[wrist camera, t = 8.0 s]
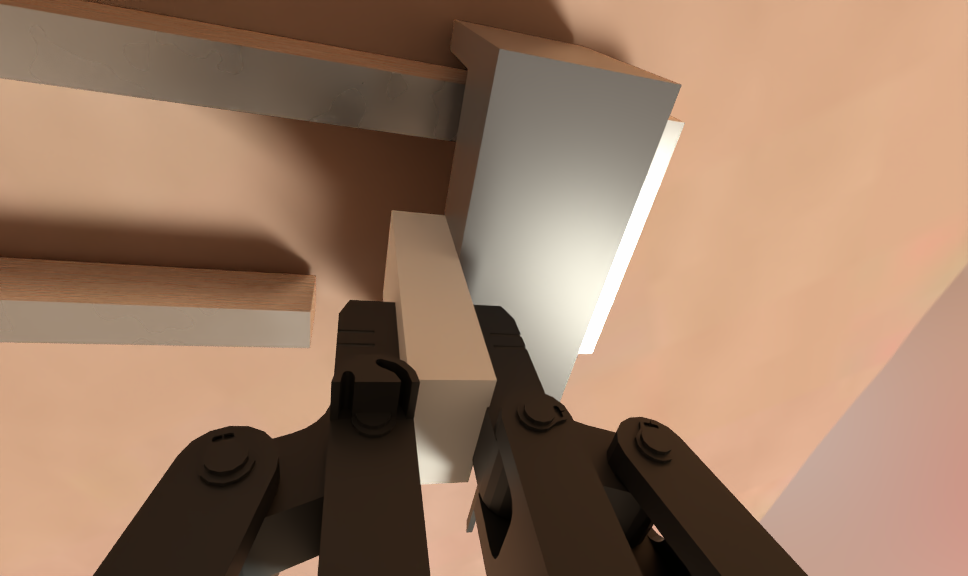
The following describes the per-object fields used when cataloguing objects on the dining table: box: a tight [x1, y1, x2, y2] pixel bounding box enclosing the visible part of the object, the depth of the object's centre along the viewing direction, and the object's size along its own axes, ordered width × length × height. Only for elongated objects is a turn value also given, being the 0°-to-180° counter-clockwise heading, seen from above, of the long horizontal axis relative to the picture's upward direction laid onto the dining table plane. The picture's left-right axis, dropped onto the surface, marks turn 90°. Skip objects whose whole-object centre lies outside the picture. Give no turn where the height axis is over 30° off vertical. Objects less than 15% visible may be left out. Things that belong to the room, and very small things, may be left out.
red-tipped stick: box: [0, 257, 316, 348], centre depth 14 cm, size 17×2×2 cm, turn 79°
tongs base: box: [0, 0, 685, 353], centre depth 14 cm, size 28×9×3 cm, turn 79°
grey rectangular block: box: [444, 19, 681, 402], centre depth 15 cm, size 4×12×6 cm, turn 169°
